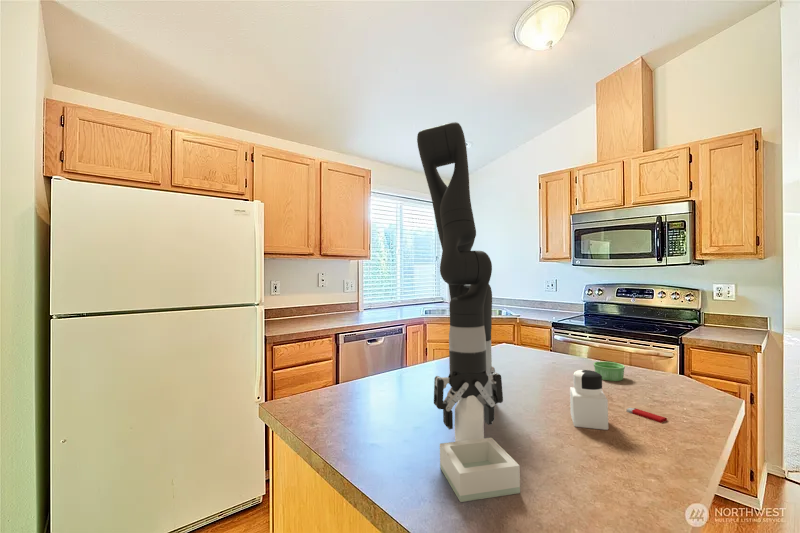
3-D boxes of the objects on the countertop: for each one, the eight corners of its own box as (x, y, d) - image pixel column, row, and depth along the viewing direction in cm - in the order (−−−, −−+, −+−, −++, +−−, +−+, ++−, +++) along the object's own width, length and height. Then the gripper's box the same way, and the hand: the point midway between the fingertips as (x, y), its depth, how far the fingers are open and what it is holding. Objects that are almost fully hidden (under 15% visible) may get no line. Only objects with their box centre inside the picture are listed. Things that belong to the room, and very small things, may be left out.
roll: (485, 387, 78) (481, 396, 72) (486, 444, 77) (482, 457, 72) (457, 384, 80) (451, 392, 74) (458, 440, 80) (452, 452, 74)
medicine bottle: (602, 418, 89) (601, 368, 89) (608, 430, 83) (607, 377, 83) (570, 415, 92) (569, 367, 92) (573, 426, 85) (572, 374, 85)
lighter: (660, 419, 86) (625, 408, 93) (660, 425, 86) (626, 413, 93) (667, 417, 88) (632, 406, 95) (667, 422, 88) (632, 411, 95)
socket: (492, 460, 71) (491, 437, 71) (520, 493, 60) (519, 465, 60) (440, 467, 69) (439, 443, 69) (460, 502, 58) (459, 473, 58)
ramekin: (631, 381, 117) (630, 368, 117) (602, 382, 117) (602, 368, 117) (615, 373, 126) (614, 361, 126) (588, 374, 126) (588, 361, 126)
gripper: (491, 341, 81) (492, 415, 81) (429, 345, 78) (430, 421, 78) (507, 348, 74) (509, 429, 74) (439, 353, 71) (441, 437, 71)
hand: (469, 425), depth 76 cm, fingers open, 8 cm apart
